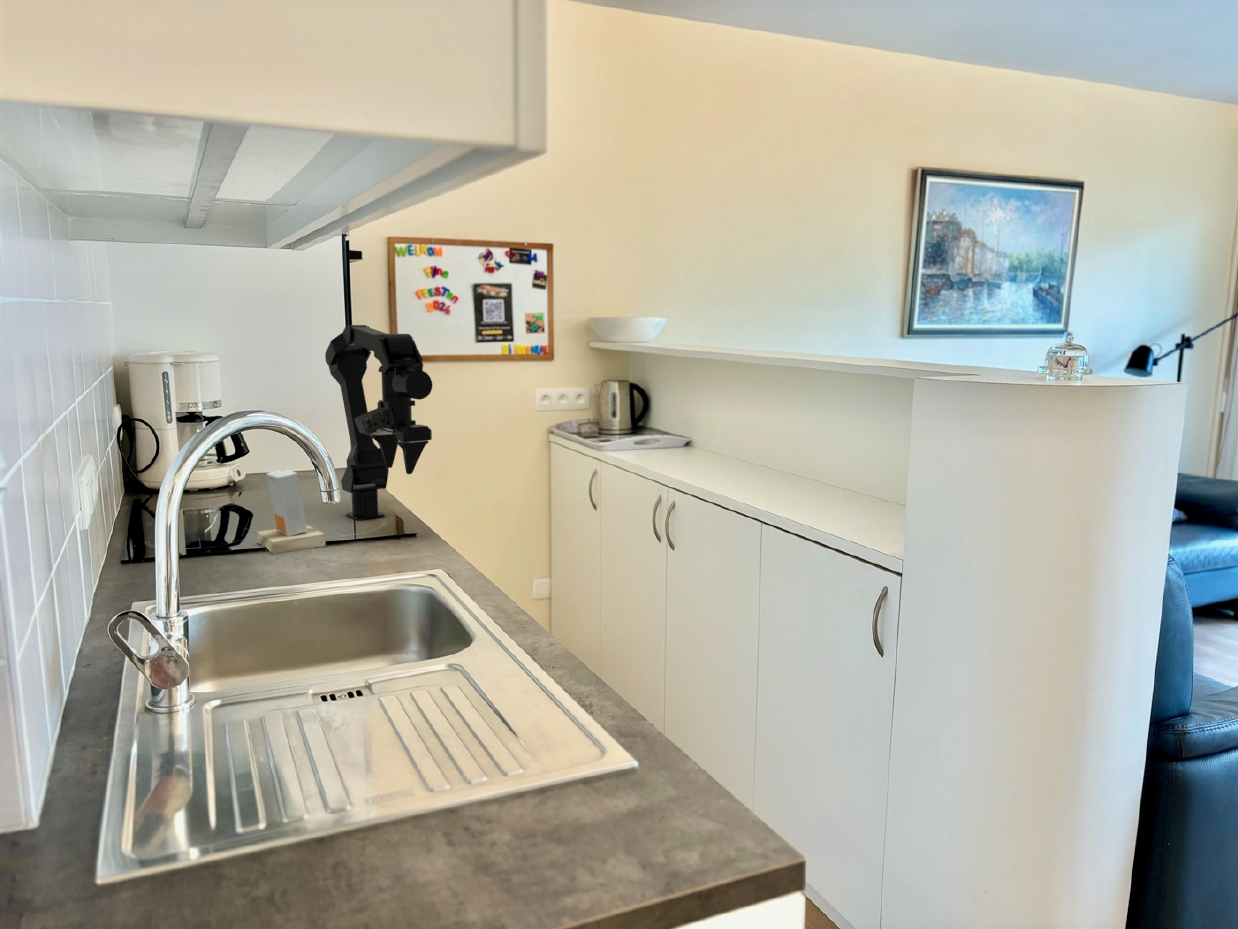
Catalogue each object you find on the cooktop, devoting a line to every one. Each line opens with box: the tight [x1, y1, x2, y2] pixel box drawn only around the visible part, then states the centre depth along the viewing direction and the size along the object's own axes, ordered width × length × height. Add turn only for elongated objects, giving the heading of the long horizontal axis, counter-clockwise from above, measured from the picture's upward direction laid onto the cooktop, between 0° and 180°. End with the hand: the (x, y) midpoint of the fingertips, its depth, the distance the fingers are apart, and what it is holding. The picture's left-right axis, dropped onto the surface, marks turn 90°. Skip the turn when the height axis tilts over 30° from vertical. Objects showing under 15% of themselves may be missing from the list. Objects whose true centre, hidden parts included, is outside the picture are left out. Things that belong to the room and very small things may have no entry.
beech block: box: [256, 524, 326, 555], centre depth 178 cm, size 10×10×3 cm
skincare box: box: [265, 468, 308, 536], centre depth 176 cm, size 6×4×12 cm
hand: (399, 470), depth 187 cm, fingers open, 9 cm apart
